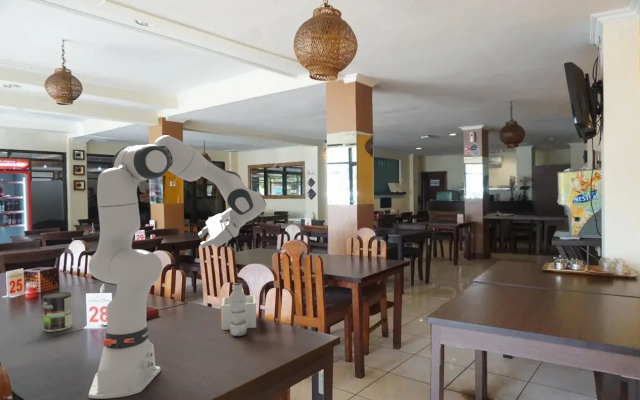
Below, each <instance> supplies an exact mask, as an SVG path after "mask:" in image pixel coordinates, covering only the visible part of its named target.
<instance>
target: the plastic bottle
mask: <svg viewBox="0 0 640 400" xmlns="http://www.w3.org/2000/svg"><path fill="white" fill-rule="evenodd" d="M231 289H232V292H231V293H230V295H229V296H228V297H229V302H230V308H231V324H230V329H229V331H230V335H232V337H241V336H245V335H246V334H247V332H248V328H247V324H246V318H245V304H246V296H247V295H246V294H245V293H244V291H243V283H233V284H232V288H231Z"/></svg>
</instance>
